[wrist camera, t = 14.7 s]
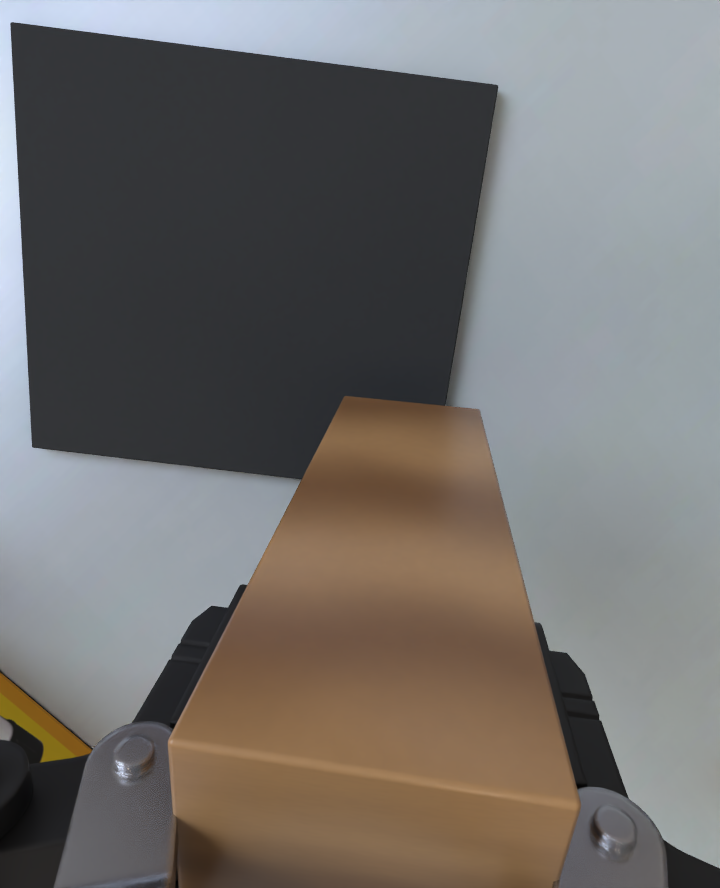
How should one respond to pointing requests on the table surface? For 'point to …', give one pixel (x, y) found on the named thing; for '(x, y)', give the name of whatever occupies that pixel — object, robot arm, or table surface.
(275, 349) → the mat
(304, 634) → the tall wood grain block
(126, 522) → the table surface
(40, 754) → the packaging box
